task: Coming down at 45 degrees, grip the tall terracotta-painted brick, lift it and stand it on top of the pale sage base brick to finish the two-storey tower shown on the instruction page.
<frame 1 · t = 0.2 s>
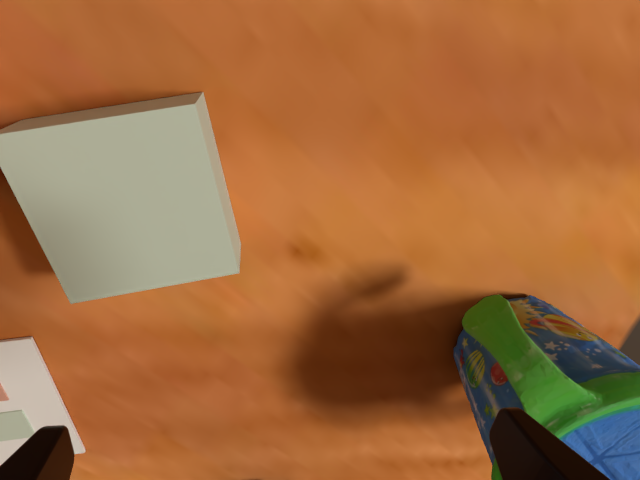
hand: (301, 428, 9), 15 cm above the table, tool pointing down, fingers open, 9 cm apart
instruction page: (1, 406, 26), on the table
base brick: (143, 188, 21), on the table
snack cup: (500, 333, 29), on the table
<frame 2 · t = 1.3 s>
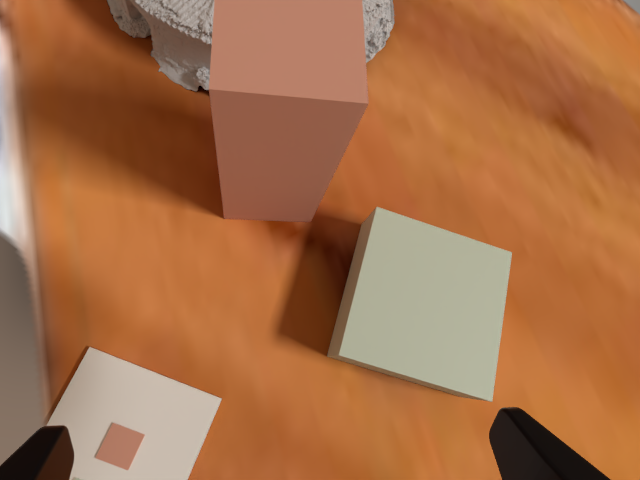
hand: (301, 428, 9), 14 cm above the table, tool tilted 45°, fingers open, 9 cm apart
tall brick: (268, 180, 25), on the table
instruction page: (105, 478, 20), on the table
base brick: (409, 307, 24), on the table
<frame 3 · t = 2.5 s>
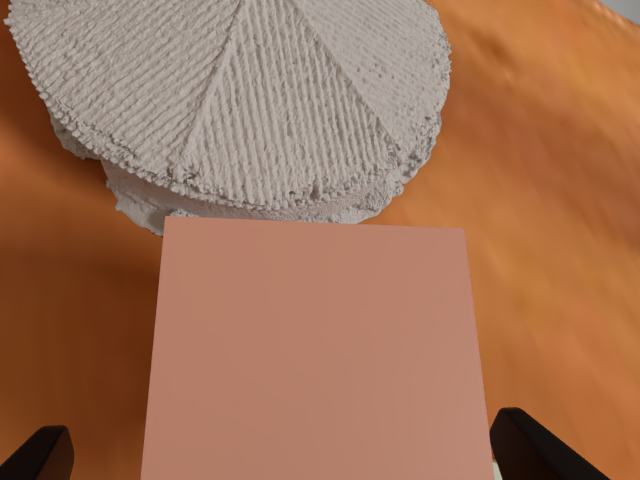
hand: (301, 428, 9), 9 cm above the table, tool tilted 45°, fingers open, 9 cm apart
tall brick: (272, 372, 18), on the table
grey round stone disc: (251, 75, 22), on the table
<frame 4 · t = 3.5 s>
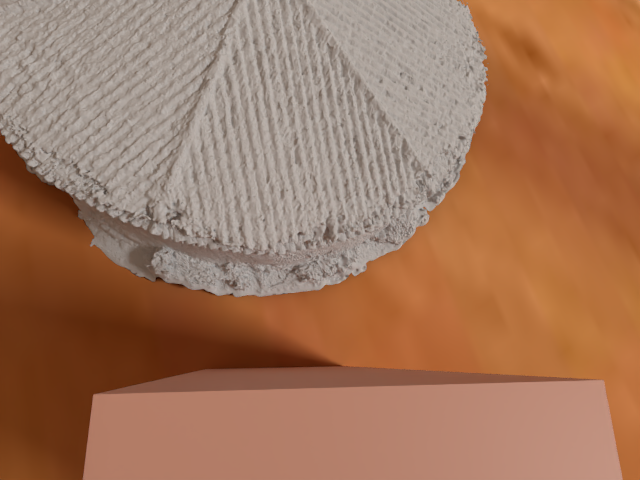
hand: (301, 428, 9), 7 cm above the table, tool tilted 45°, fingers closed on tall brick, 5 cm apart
tall brick: (275, 442, 15), on the table, touching gripper
grey round stone disc: (250, 82, 19), on the table
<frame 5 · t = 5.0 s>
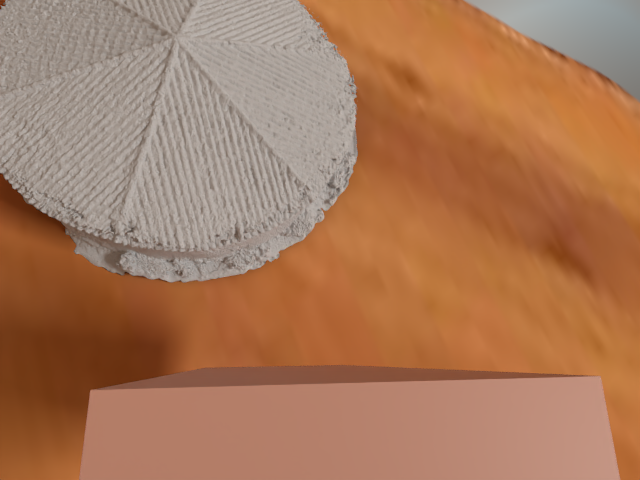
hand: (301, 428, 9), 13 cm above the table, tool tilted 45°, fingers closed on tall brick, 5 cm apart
tall brick: (275, 441, 15), point 7 cm above the table, touching gripper
grey round stone disc: (189, 120, 25), on the table
when the fingers open (11 cm above the table, at t = 6.6 s): tall brick drops 1 cm, resting on base brick.
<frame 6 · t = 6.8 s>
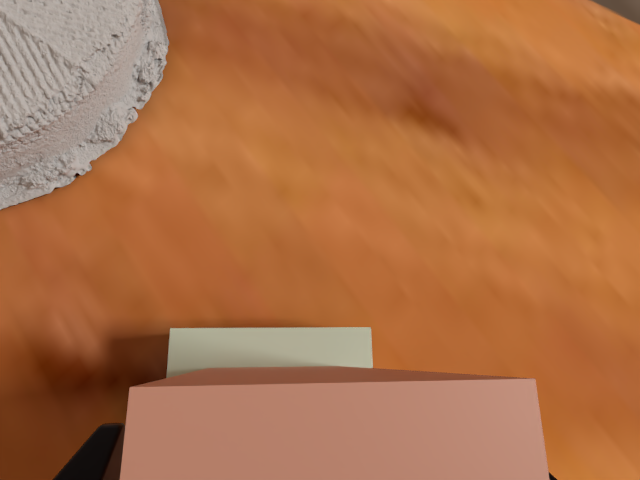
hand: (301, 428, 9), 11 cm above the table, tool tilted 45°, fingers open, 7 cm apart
tall brick: (273, 436, 16), point 3 cm above the table, touching base brick
base brick: (268, 424, 19), on the table
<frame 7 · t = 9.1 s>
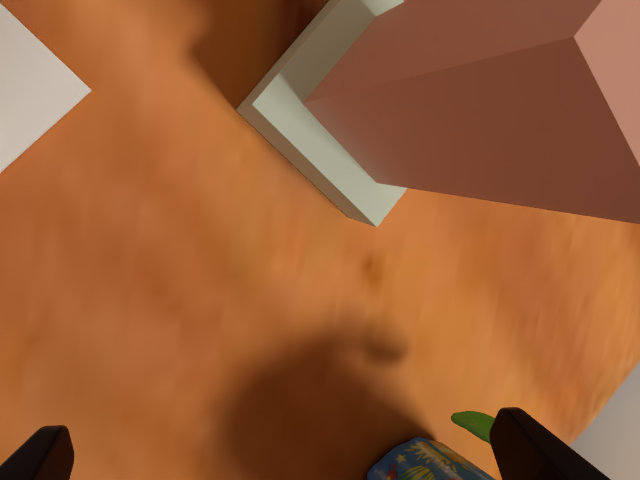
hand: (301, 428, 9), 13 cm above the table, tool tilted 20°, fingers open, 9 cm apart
tall brick: (376, 103, 19), point 3 cm above the table, touching base brick
base brick: (345, 108, 21), on the table
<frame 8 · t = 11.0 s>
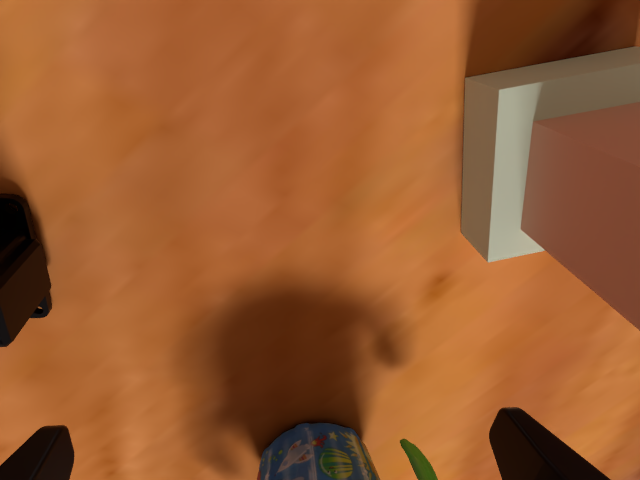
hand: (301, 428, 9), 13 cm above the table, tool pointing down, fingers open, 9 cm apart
tall brick: (581, 168, 18), point 3 cm above the table, touching base brick
base brick: (540, 147, 21), on the table
snack cup: (312, 448, 30), on the table
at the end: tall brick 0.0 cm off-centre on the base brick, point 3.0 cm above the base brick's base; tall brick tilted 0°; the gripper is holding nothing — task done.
